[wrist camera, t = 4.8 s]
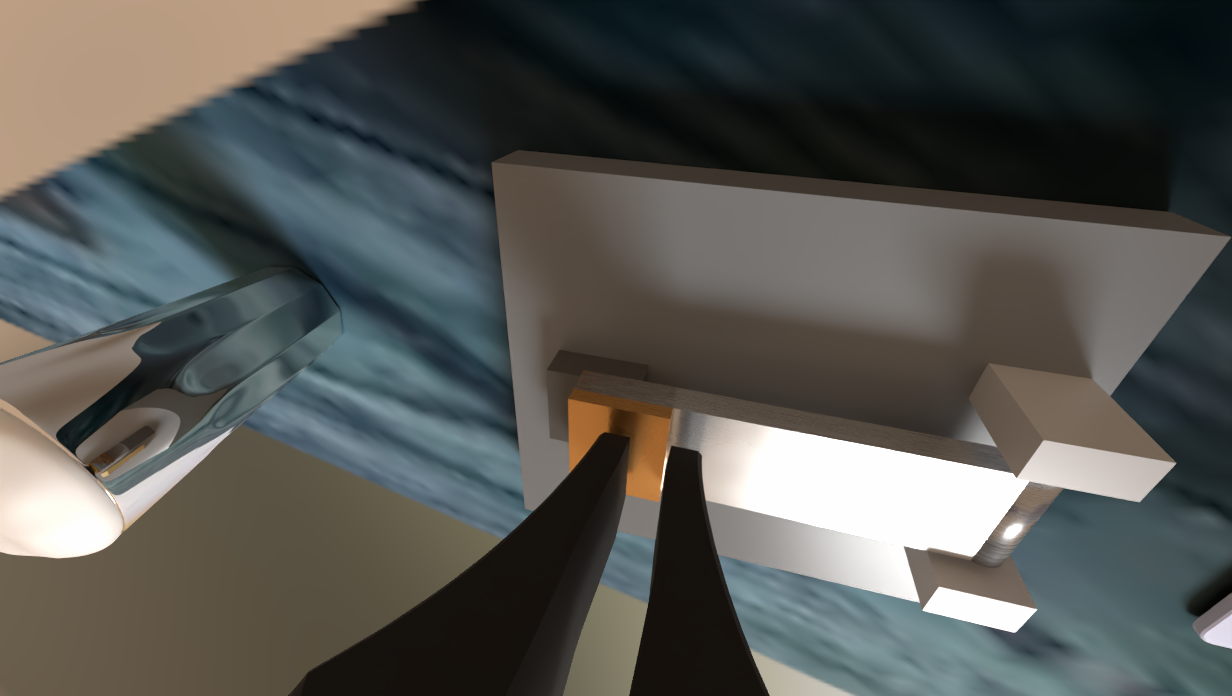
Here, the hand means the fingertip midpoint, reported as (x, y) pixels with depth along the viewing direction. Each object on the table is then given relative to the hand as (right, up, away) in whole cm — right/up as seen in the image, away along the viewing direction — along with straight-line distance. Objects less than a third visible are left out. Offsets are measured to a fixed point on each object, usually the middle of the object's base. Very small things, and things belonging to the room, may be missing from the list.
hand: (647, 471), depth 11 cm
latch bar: (+4, 0, +1) cm, 4 cm away
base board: (+3, +2, +3) cm, 5 cm away
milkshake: (-12, +4, +6) cm, 14 cm away
